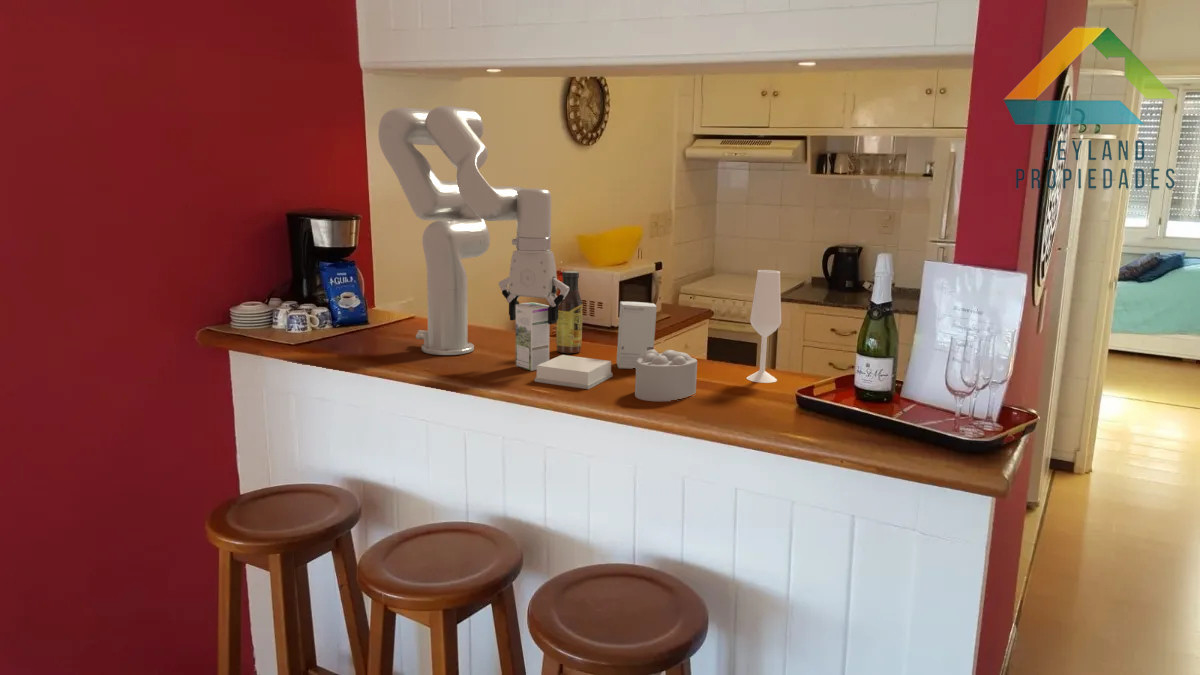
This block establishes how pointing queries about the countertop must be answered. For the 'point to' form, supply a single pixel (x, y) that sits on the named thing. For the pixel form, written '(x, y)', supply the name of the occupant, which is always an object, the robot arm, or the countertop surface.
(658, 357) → the lumpy-topped squat cylinder
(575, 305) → the sauce bottle
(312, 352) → the countertop surface
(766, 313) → the champagne flute
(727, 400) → the countertop surface
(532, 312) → the syrup box
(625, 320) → the skincare box
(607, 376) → the cream square tile
